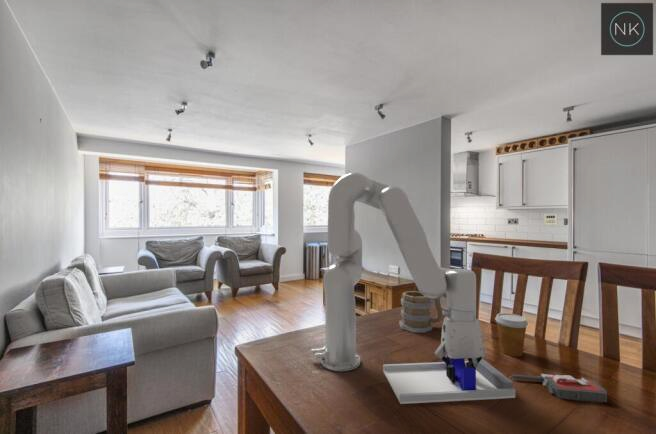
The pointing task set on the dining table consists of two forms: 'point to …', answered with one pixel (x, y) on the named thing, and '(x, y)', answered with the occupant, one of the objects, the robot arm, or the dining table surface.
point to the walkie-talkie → (570, 387)
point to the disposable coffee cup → (511, 333)
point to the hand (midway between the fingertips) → (460, 378)
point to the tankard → (418, 312)
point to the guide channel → (444, 383)
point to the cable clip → (464, 375)
